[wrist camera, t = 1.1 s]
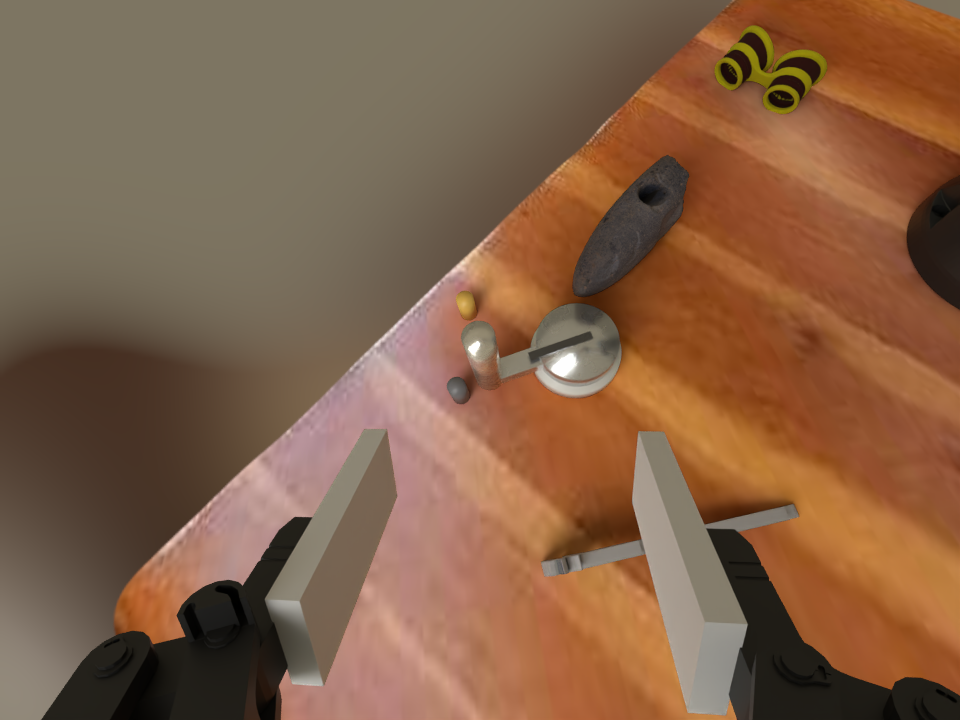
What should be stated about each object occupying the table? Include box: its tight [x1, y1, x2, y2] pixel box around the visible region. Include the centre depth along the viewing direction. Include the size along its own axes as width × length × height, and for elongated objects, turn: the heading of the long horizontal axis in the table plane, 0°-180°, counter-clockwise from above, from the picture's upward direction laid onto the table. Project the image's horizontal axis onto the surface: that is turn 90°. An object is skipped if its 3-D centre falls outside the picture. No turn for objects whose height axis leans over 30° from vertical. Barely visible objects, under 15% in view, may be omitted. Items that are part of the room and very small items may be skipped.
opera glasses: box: [714, 26, 827, 114], centre depth 52 cm, size 10×5×5 cm, turn 46°
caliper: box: [541, 504, 799, 576], centre depth 36 cm, size 20×1×6 cm, turn 102°
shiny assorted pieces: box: [447, 291, 622, 404], centre depth 45 cm, size 16×13×3 cm
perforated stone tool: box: [573, 155, 689, 297], centre depth 45 cm, size 15×5×7 cm, turn 136°
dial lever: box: [461, 303, 620, 390], centre depth 39 cm, size 13×7×9 cm, turn 108°
